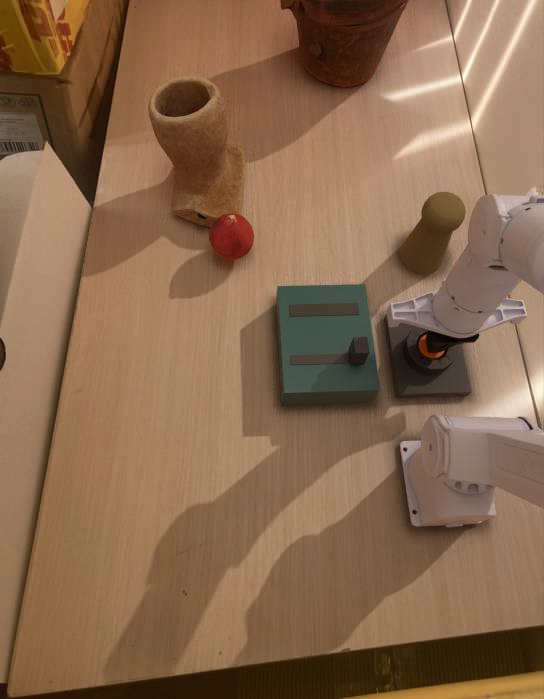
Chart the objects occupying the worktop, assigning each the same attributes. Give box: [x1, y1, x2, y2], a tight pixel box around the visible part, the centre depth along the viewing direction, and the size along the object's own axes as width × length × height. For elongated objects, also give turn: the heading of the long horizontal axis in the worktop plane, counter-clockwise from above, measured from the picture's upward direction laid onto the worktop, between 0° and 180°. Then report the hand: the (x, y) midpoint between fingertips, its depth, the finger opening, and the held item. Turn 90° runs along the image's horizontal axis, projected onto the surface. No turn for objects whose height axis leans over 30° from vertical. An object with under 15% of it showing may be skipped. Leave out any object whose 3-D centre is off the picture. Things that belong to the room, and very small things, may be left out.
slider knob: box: [348, 337, 370, 365], centre depth 61 cm, size 2×2×4 cm
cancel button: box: [417, 335, 445, 360], centre depth 66 cm, size 3×3×2 cm
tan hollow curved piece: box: [147, 75, 246, 228], centre depth 71 cm, size 15×12×15 cm
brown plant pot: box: [279, 0, 409, 88], centre depth 81 cm, size 18×20×18 cm
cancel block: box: [383, 313, 472, 399], centre depth 67 cm, size 11×9×3 cm
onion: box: [208, 213, 255, 261], centre depth 70 cm, size 6×6×8 cm
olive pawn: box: [399, 191, 467, 275], centre depth 69 cm, size 6×6×11 cm
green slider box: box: [275, 283, 381, 407], centre depth 66 cm, size 14×11×5 cm
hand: (432, 345), depth 65 cm, fingers closed, pressing on cancel button
